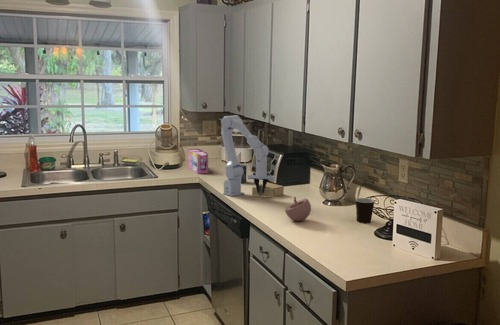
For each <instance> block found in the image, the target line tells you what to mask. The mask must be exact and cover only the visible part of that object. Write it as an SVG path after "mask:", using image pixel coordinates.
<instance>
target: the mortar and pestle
mask: <svg viewBox="0 0 500 325" xmlns="http://www.w3.org/2000/svg"><path fill="white" fill-rule="evenodd" d="M284 211H285V214H286V216H287V217H288V218H289V219H290V220H292V221H295V222H302V221H304V220H306V219H308V217H309V216H310V215H311V211H312V205H311V202H310V201H309V199H308V198H303V199H300V200H297V197H296V196H293V202H292V203H291V204H289V205H287V206H286V207H285V208H284Z"/></svg>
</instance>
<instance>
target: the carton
mask: <svg viewBox="0 0 500 325" xmlns="http://www.w3.org/2000/svg"><path fill="white" fill-rule="evenodd" d="M261 184H262V183H259V185H261ZM262 188H263V186H262ZM265 188H267V189H273V197H272V198H276V197H280V196H284V193H285V192H284V185H279V184H277V183H272V182H267V184H266V186H265Z"/></svg>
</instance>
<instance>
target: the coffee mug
mask: <svg viewBox="0 0 500 325" xmlns="http://www.w3.org/2000/svg"><path fill="white" fill-rule="evenodd" d="M374 207H375V200H374V199H371V198H367V197H365V198H364V197H360V198H356V199H355V211H356V214H355V215H356V222H357V223H360V224H370V223H372V217H373V212H374Z"/></svg>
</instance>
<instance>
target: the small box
mask: <svg viewBox="0 0 500 325" xmlns="http://www.w3.org/2000/svg"><path fill="white" fill-rule="evenodd" d="M241 166H242V168H243V170H244V173H243V175H242V178H241V184H244V183H247V165H244V164H241ZM233 167H234V166H233Z"/></svg>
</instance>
